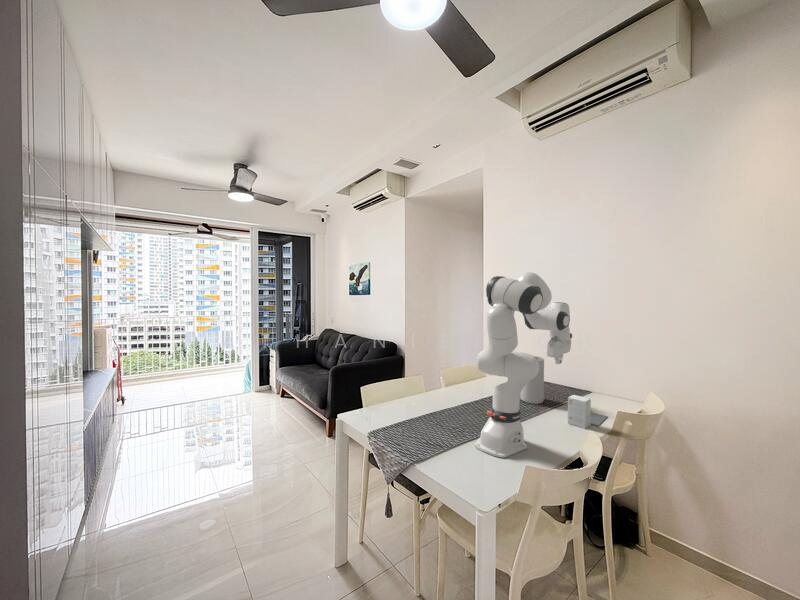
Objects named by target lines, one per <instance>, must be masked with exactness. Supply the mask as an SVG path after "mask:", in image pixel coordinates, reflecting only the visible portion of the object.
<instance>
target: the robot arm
mask: <svg viewBox="0 0 800 600" xmlns="http://www.w3.org/2000/svg"><path fill="white" fill-rule="evenodd" d="M485 293H486V298H487V303H488V305H490V306H491V307H490V308H489V309H488V312H487V315H486V328H487V329H486V331H487V335H488V345H487V346H486V347H485V348H484V349H482V350H481V351H479V352H478V353H477V354H476V358H475V364H476V365H475V366H476V368H477V369H478V371H479V372H480V373H482V374H483V373H484V374H486V375H490V376H496V377H503V378H506V379H507V381H505V382H503V383H499V384H497V385H496V386H495V387H494V388H493V390H492V406H491V409H490V410H487V412H486V416H488V417H489V418H488V419H487V421H486V423H485V424H484V426H483V428H482V429H481V432H480V437H479V438H477V440H476V441H475V442H474V445H473V446H475V448H477V449H478V450H479V451H481V452H483V453H485V454H488V455H491V456H493V457H497V458H501V459H502V458H507V457H510V456H512V455H514V454H517V453H518V452H521V451H523V450H527V448H528V445H527V444H526V442H525V438H524V437H525V434H524V426H523V425H522V424H523V423H522V422H521V417H522V415H521V414H522V413H521V409H520V404H521V403H520V401H521V398H520V394H521V391H522V388H523V387H524V385H525V384H526V383H527V382H528V381H530V380H531V379H533V378H534V377H536V375H537V374H538V372H539V362H538V360H537V359H536V357H535V356H536V355H533V354H529V353H526V352H523V351H522V352H520V351H519V352H518V351H515V350H516V348H517V347H518V344H519V340H518V339H519V338H518V337H519V336H518V330H517V323H516V318H515V311H516V312H519V313H521V314H522V316H523V321H524V323H525V324H524V325H525V326H526V327H527V329H529V330H542V331H548V332H549V334H548V338H549V339H550V340H548V342H547V347H546V356H547V358H548V357H549V358H554V361H555V362H554V364H556V365H561V364H562V363H563V358H564V355H565V354H567V353H570V351H571V347H572V339H573V333H571V330H570V322H571V313H570V306H569V304H568V303H567V302H563V301H561V302H560V301H558V302H552V303H551V301H552V299H553V298H552V297H553V296H552V291H551V289H550V287H549V285H548V284H547V283H546V282H545V280H544V279H543V278H542V277H541V276H540V275H538V273H535V272H525V273H523V274H521V275H519V277H518V278H517V279H513V278H508V277H506V276H502V275H499V276H497V275H496V276H493V277H492V278H491V279H490V280H488V282H487V284H486V288H485ZM549 305H551V306H550V309H547V307H548V306H549Z"/></svg>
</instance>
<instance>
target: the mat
mask: <svg viewBox="0 0 800 600" xmlns="http://www.w3.org/2000/svg"><path fill="white" fill-rule="evenodd" d="M607 418H608V416H607V415H604V414H600V413H597V412H596V413H595V412H592V411H590V426H595V427H599V426H600V425H601V424H603V422H604V421H605V420H606V419H607Z"/></svg>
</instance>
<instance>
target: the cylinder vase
mask: <svg viewBox="0 0 800 600" xmlns="http://www.w3.org/2000/svg"><path fill="white" fill-rule="evenodd" d="M534 356H535V357H536V359H537V360H538V362H539V372H538V374H537V375H536V377H534V378H533V379H531V380H530V381H528V382H527V383H526V384H525V385H524V387H523V388H522V391H521V394H520V401H523V402H525V403H527V404H533V405H540V404H542V403H543V402H544V400H545V399H544V395H545V393H544V392H545V391H544V389H545V388H544V387H545V384H544V383H545V358H544V357H541V356H536V355H534Z"/></svg>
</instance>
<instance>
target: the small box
mask: <svg viewBox="0 0 800 600" xmlns="http://www.w3.org/2000/svg"><path fill="white" fill-rule="evenodd" d="M591 403H592V401H591V398H588V397H584V396H580V395H577V394H572V395H569V396H568V397H567V424H570V425H572V426H575V427H578V428H581V429H587V428H589V426H591V424H590V412H591Z"/></svg>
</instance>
